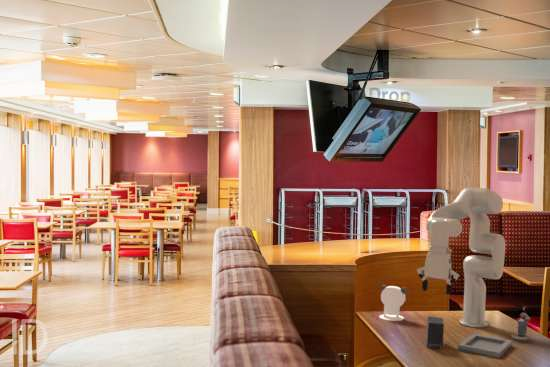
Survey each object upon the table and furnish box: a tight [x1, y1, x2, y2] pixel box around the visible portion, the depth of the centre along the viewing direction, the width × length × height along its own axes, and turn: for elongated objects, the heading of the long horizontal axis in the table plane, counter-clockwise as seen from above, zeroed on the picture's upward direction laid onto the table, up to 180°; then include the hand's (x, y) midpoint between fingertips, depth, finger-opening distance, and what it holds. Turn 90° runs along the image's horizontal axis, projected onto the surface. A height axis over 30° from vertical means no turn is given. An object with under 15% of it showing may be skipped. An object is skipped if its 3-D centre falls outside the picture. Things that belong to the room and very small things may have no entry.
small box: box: [425, 315, 445, 350], centre depth 269 cm, size 11×6×10 cm, turn 168°
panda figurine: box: [379, 284, 408, 322], centre depth 310 cm, size 12×11×15 cm
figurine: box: [510, 312, 533, 344], centre depth 280 cm, size 8×8×12 cm
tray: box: [457, 333, 513, 359], centre depth 267 cm, size 20×16×2 cm
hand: (436, 292), depth 268 cm, fingers open, 9 cm apart
